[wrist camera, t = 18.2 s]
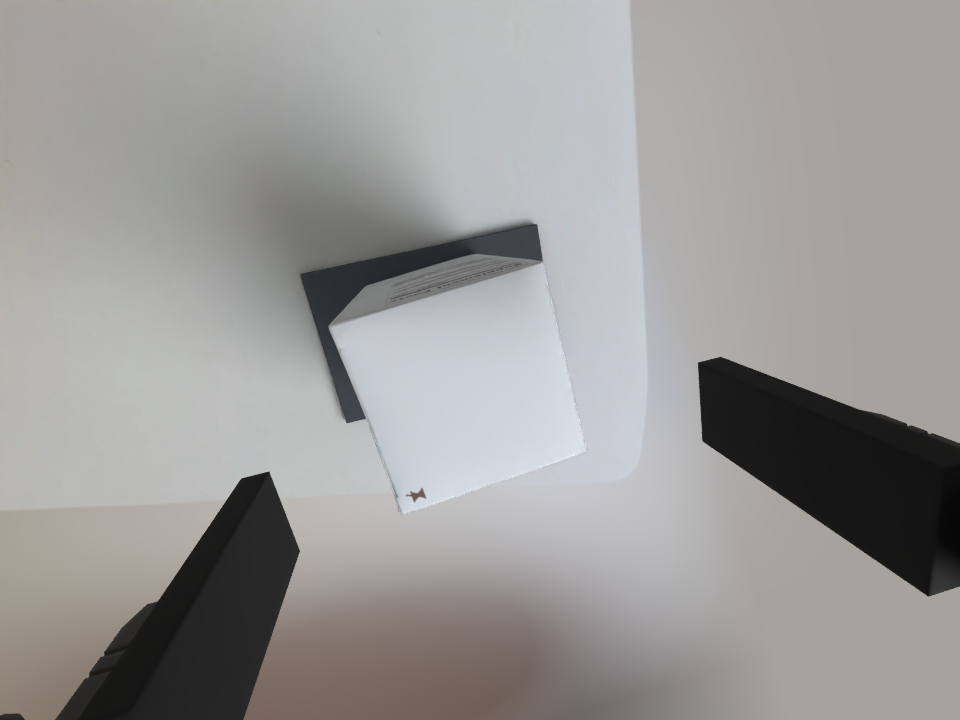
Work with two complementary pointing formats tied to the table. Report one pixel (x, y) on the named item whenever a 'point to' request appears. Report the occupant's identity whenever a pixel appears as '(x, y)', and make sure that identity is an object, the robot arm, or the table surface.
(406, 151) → the table surface
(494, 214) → the table surface
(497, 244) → the mat
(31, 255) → the table surface
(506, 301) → the supplement box
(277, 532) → the robot arm
